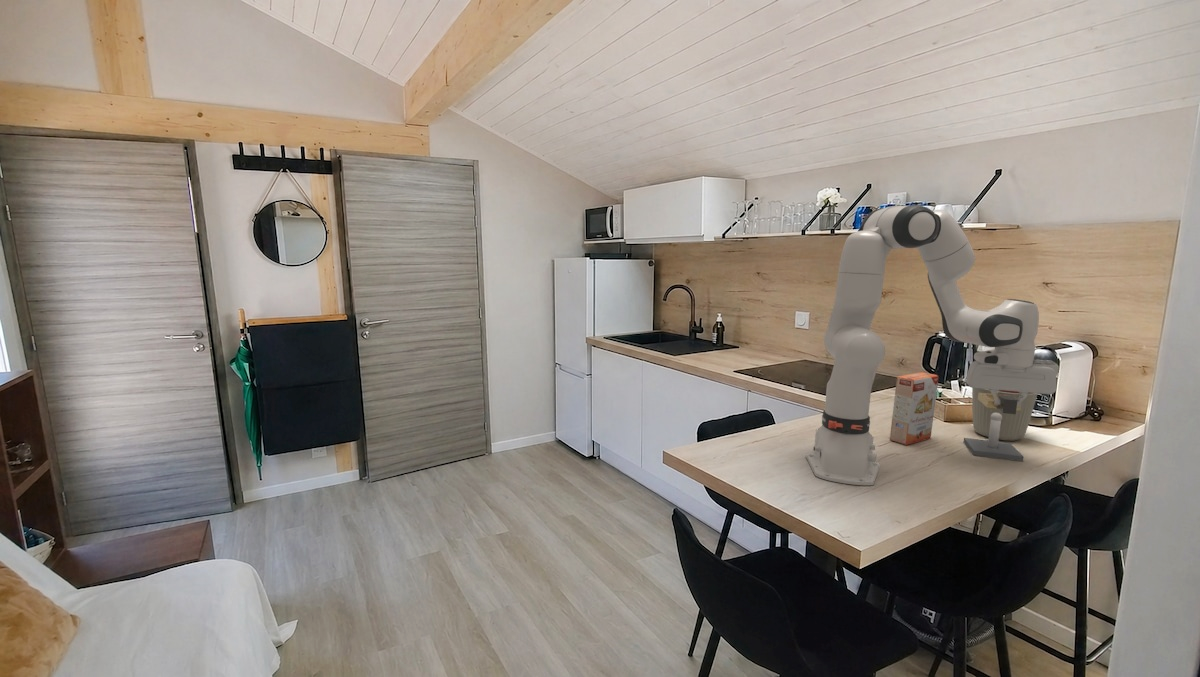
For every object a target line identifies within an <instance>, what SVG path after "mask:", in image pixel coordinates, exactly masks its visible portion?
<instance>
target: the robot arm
mask: <svg viewBox="0 0 1200 677" xmlns="http://www.w3.org/2000/svg"><path fill="white" fill-rule="evenodd" d="M859 226H860V227H859V229H858V230H857V231H855V232H853V233H850V235H848V237H847V238H846V239H845V241H844V242H845V243H844V244H843V247H842V251H841V255H840V259H839V265H838V273H837V281H836V290H835V298H834V302H833V303H834V304H833V306H832V311H831V314H830V317H829V321H828V325H827V329H826V331H825V332H824V335H823V343H824V346H825V350H826V351H827V353H828V354H829V355H830V356H831V357H833V358H834V360H833V367H832V371H831V375H830V377H829V380H828V381H827V383H826V392H825V402H824V410H823V412H822V415H821V416H822V417H821V424H822V425H821V426H820V427H818V428H817V429H816V430H815V435H814V446H813V451H812V452H807V453H806V456H805V459H807V460H806V461H807V462H808V464H809V467H810V469H811V470H812V472H813V474H814V476H816V478H818V479H819V478H820V479H823V480H826V481H830V482H833V483H841V484H845V485H854V486H873V485H874V484H875V482H876V479H877V476H878V474H879V470H880V467H881V465H880V463H879V462H878V461H877V462H876V460H877V453H874V452H873V451H875V449H876V444H874V440H875V439H874V438H875V437H874V436H873V435H872V434H871V433H870V432H869V431H870V425H871V420H870V419H871V416H870V415H869V412H870V405H871V404H870V403H871V394H872V387H873V384H874V381H875V378H876V375H877V372H878V369H879V366H880V365H881V363H882V362H883V360H884V359H885V356H886V347H885V344H884V342H883V340H882V339H881V338H880V336H879V334H877V333H876V332H874V330H871V326H872V323H873V319H874V317H875V314H876V312H877V310H878V309H879V308H880V306H881V303H882V295H883V294H882V293H883V286H884V279H885V269H886V262H887V257H888V255H889V254H890V252H891V251H892V249H893V250H897V249H899V250H902V249H915V248H916V249H917V251H918V253H919V254H920V257H921V259H922V261H923V262H924V265H925V268H926V269H927V280H928V283H929V287H930V289H931V292H932V295H933V296H934V297H933V298H934V299H935V302H936V304H937V307H938V310H939V312H940V316H941V324H942V329H943V333H944V335H945V336H946V337H947V338H948V339H949V341H950V340H951V341H953V342H956V343H965V344H966V343H967V344H970V345H975V346H981V347H986V348H993V349H988V350H982V351H979V352H978V351H977V352H975V353H974V355H973V359H974V361H973V362H971V363H970V365H969V366H968V371H967V374H966V382H965V383H966V384H967V385H968V387H970V388H971V389H972V388H982V389H991V391H990V392H991V393H992V395H993V397H994V405H999V406H1001V405H1002V399H1000V398H998V397H997V395H996V394H998V393H999V390H1005V391H1017V392H1019V394H1020V396H1019V398H1018V399H1017V400H1018V401H1017V407H1021V402H1022V401H1023V400H1024V399H1025V398H1026V397H1027V395H1028V393H1040V394H1042V395H1053V394H1054V393H1056V391H1057V375H1058V374H1059V368H1060V366H1059V364H1058V363H1057V362H1055V361H1053V360H1051V359H1049V360H1048V359H1047V360H1046V359H1039V358H1038V359H1037V358H1035V354H1036V353H1035V351H1036V345H1035V340H1036V337H1037V335H1038V329H1039V320H1040V318H1039V316H1040V313H1039V312H1040V311H1039V307H1038V306H1037V304H1035V303H1034V302H1031V301H1028V300H1024V299H1023V300H1021V299H1017V298H1016V299H1014V298H1007V299H1004V301H1003V302H1001V304H1000V305H997V306H996V307H993V308H991V309H988V310H979V309H975V308H971V307H970V306H968V305H966V303H965V302H964V299H963V297H962V295H961V291H960V289H959V286H958V284H957V281H958V280H959V279H961V278H963V277H964V276H965V275H966V274H968V273H969V272H971V270H972V268H973V266H974V265H975V261H976V256H975V251H974V249H973V247H972V245H971V243H970V241H969V239H968V237H967V235H966V234H965V232H964V231H963V229H962V227H961V226H960V225H959V223H958V222H957V221H956V220H955V218H954V217H953V216H952V214H950V213H949V212H948V211H946V210H943V209H935V210H932V209H930V208H929V207H927V206H924V205H918V204H912V205H900V204H899V205H892V206H886V207H881V208H876V209H875V210H872V211H870V212H869V213H868V214H867V215H866V216H865V217H864V219H863V220H862V222H861V224H860V225H859ZM1040 394H1039V395H1040Z"/></svg>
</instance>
